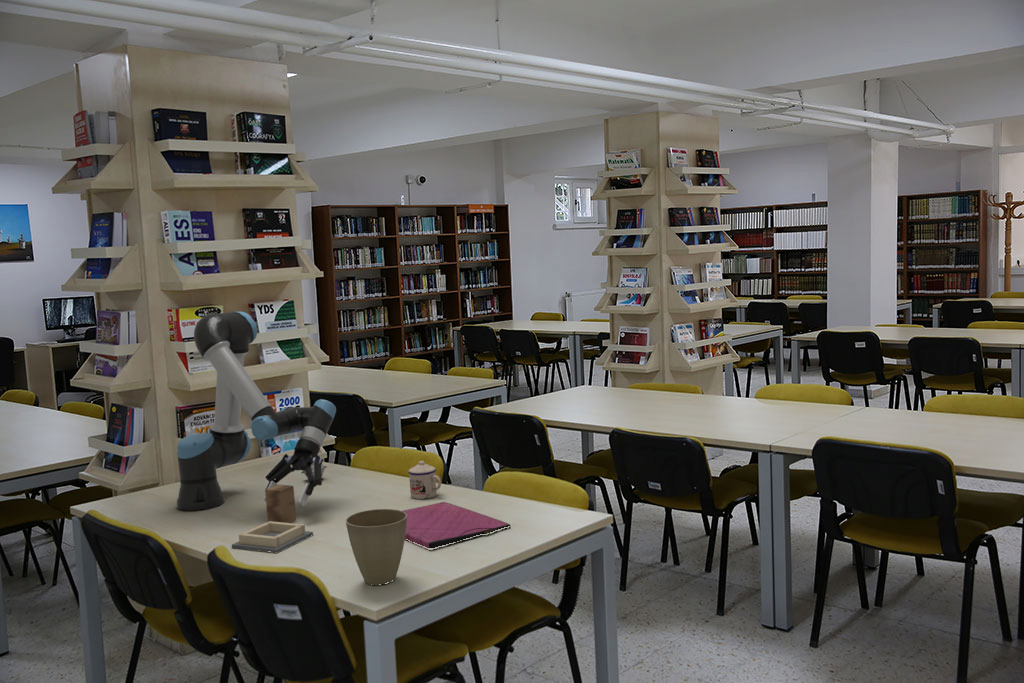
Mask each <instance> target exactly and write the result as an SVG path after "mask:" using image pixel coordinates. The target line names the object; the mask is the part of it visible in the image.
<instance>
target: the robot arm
mask: <svg viewBox="0 0 1024 683" xmlns="http://www.w3.org/2000/svg"><path fill="white" fill-rule="evenodd" d="M257 335H258V328H257V324H256V322H255V320H254V319H253V317H252V316H251V315H250V314H248V313H247V312H245V311H235V310H234V311H226V312H220V313H219V312H218V313H210V314H207V315H206V314H205V315H204V316H203V317H201V318H200V319H199V320H198V322H196V325H195V326H194V330H193V339H194V340H193V341H194V345H195V347H196V349H197V351H198V353H199V354H200V356H201V358H203V359H204V361H205V362H206V361H208V362H209V363H210V364H211V365H212V367H213V368H214V370H215V371H216V387H215V388H216V389H215V406H214V408H215V409H214V422H212V424H211V425H210V426H209V432H200V433H195V434H191V435H187V436H185V437H183V438H181V439H180V440H179V441H178V443H177V447H176V448H177V451H176V455H177V456H176V457H177V461H178V464H177V465H178V471H179V480H180V486H179V491H178V496H177V500H176V508H178V511H179V510H180V511H183V510H187V511H186V512H190V510H191V512H194V511H193V510H196V511H202V510H201V509H204V510H209V509H213V508H216V507H218V505H219V506H220V505H223V504H224V503H225V496H224V495H225V494H224V492H222V489H221V486H220V483H219V481H218V478H217V477H218V476H217V470H218V469H220V468H223V467H227V466H229V465H234V464H237V463H239V462H241V461H242V460H245V458H247V456H248V455H249V453H250V450H251V444H252V442H251V438H250V436H249V434H248V432H247V431H246V430H245V425H244V424H242V422H241V418H242V409H243V410H244V411H245V413H246V414H247V416H248V418H250V420H251V424H250V429H251V434H252V435H253V437H254V438H255V439H256V440H260V441H264V440H265V441H266V440H272V439H274V438H275V437H279V436H282V435H286V434H288V433H289V434H290V433H292V432H295V431H301V434H299V435H300V436H299V437H298V440H297V441H296V444H295V447H294V452H293V455H288V454H287V453H285V454H284V455H283V456H282V458H281V460H280V461H279V462H278V463H277V464H276V465H275V467H273V468H272V469H271V470H270V471H269V472H268V473H267V474H266V476H265V479H266V480H267V481H268V484H267V486H266V488H265V489H268V488H270V487H273V486H275V485H278V484H277V483H279V482H280V481H281V480H283V479H284V478H285V477H287V476H288V475H289V474H291V473H292V472H295V471H302V472H303V471H304V470H305V472H306V475H307V476H306V475H305V476H306V478H307V480H308V481H307V482H306V483H305V484H304V486H303V490H302V492H301V495H300V496H299V499H298V501H297V502H298V503H299V504H300V505H301V506H302V507H305V506H306V504H307V502H308V499H309V497H310V496H311V495H312V494H313V492H314V489H315V487H317V486H322V484H323V480H322V478H323V475H322V473H321V465H322V464H323V462H324V461H323V458H322V457H321V456H320V455H319V453H320V451H321V447H322V445H323V443H324V441H325V438H326V437H327V434H328V433H329V430H330V427H331V426H332V423H333V421H334V420H335V419H334V418H335V415H336V413H337V407H336V405H334V403H333V402H331V401H329V400H326V399H322V398H320V399H318V400H316V401H315V402H314V404H313V406H309V407H305V406H304V407H300V406H290V407H289V406H288V407H283V408H281V409H280V410H279V411H277V412H276V410H275V409H274V408H273V406H272V405H271V404H270V402H269V401H268V399H267V398H266V396H265V395H264V394H263V393H262V391H261V390H260V388H259V387H258V386H257V384H256V382H255V381H254V380H253V378H252V377H251V376H250V374H249V373H248V371H247V370H246V369H245V368H244V363H245V362H244V361H245V356H246V355H247V354H249V352H250V344H252V343H253V342H254V341H255V340H256V338H257V337H258V336H257ZM313 463H314V476H313V473H312V469H311V465H312V464H313ZM314 478H315V479H314ZM262 500H263V501H264V502H265V503H266V495H265V494H263V497H262ZM222 503H223V504H222ZM212 507H213V508H212ZM208 508H209V509H208Z"/></svg>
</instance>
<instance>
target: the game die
mask: <svg viewBox="0 0 1024 683" xmlns="http://www.w3.org/2000/svg"><path fill="white" fill-rule="evenodd" d="M327 467H328V466H327V465H325V466H324V464H323V463H322V465H321V473H322V476H323V475H324V472H325V469H326V468H327ZM311 469H312V473H313V476H314V463H313V464H312V465H311ZM301 474H304V475H305V477H307V475H306V472H305V470H304V471H302V472H301ZM314 479H315V478H314ZM322 481H324V478H323V477H322Z"/></svg>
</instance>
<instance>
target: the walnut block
mask: <svg viewBox="0 0 1024 683" xmlns="http://www.w3.org/2000/svg"><path fill="white" fill-rule="evenodd" d="M294 489H295V488H294V485H291V484H290V485H289V484H277V485H275V486H273V487H270V488H268V489H266V488H264V492H265V493H264V495H266V502H265V506H266V515H267V522H269V521H272V522H282V523H291V522H292V523H293V521H294V522H296V521H297V514H296V512H297V511H296V504H295V503H296V500H295V490H294ZM295 520H296V521H295Z"/></svg>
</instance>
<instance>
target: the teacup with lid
mask: <svg viewBox="0 0 1024 683" xmlns="http://www.w3.org/2000/svg"><path fill="white" fill-rule="evenodd" d="M436 471H437V469H436V467H435V466H432V465H429V464H427V463H426V462H425V460H419V461H418V464H416V465H415V466H413V467H411V468H409V469H408V474H409V476H408V477H409V487H410V488H409V489H410V490H409V491H410V497H411V499H414V498H417V499H416V500H425V499H424V498H428V499H431V498H430V497H432V498H434V497H436V496H437V494H438V492H437V491H438V490H440V488H441V487H442V480H441V478H440V476H439V475H436Z"/></svg>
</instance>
